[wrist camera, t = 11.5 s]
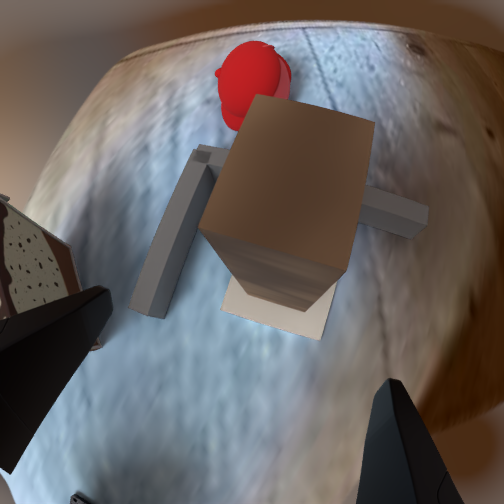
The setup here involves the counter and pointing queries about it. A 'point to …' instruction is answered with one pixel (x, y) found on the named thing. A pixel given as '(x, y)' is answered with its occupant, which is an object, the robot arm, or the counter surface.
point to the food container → (32, 265)
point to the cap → (250, 79)
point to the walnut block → (289, 199)
